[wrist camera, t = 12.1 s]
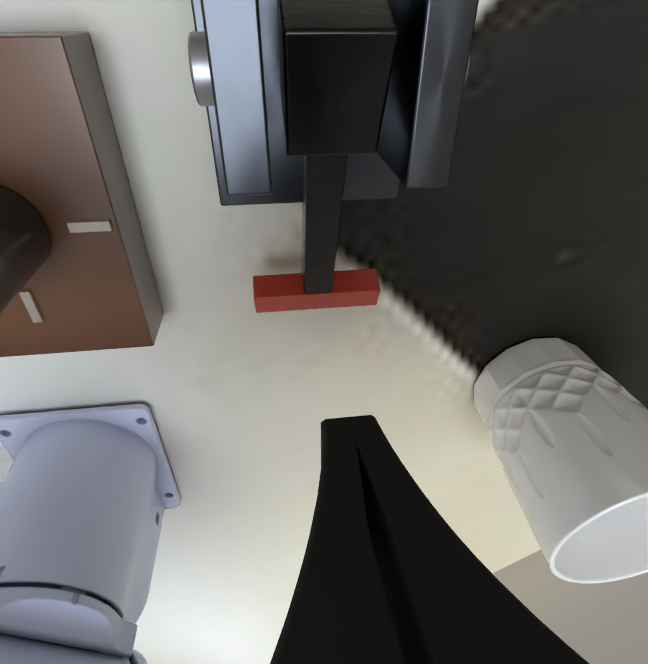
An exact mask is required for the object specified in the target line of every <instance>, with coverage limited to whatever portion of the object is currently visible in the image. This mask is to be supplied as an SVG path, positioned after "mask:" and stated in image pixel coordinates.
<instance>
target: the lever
mask: <svg viewBox="0 0 648 664" xmlns="http://www.w3.org/2000/svg"><path fill="white" fill-rule="evenodd" d="M277 16H278V41H279V67H280V92H281V104H282V114H283V124H284V134H285V144H286V153H287V155H288V156H303V242H302V273H297V274H280V275H263V276H254V277H253V288H254V302H255V308H256V312H257V313H260V312H275V311H290V310H305V309H319V308H334V307H349V306H364V305H376V304H377V300H378V297H379V293H380V286H379V281H378V276H377V271H376V269H364V270H347V271H334V268H335V259H336V251H337V243H338V234H339V226H340V217H341V209H342V200H343V192H344V184H345V175H346V167H347V158H348V154H374V153H376V151H377V148H378V142H379V137H380V132H381V126H382V121H383V116H384V110H385V105H386V100H387V94H388V89H389V84H390V78H391V73H392V68H393V62H394V57H395V52H396V46H397V41H398V36H399V30H398V27H397V24H396V21H395V18H394V15H393V12H392V9H391V6H390V3H389V0H277Z"/></svg>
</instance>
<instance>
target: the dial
mask: <svg viewBox="0 0 648 664" xmlns="http://www.w3.org/2000/svg"><path fill="white" fill-rule="evenodd" d="M49 251H50V237H49V233H48V230H47V227H46V225H45V223H44V221H43V220H42V218H41V217H40V215H39V214H38V213H37V212H36V210H35V209H34V208H33V207H32V206H31V205H30V204H29V203H27V202H26V201H25V200H24V199H22V198H21V197H20V196H18V195H17V194H15V193H13V192H11V191H10V190H7V189H5V188H3V187H0V314H1V313H2V312H3V310H4V309H5V308H6V307H7V306H8V305H9V303H10V302H11V301H12V300H13V299H14V297H15V296H16V295H17V294H18V293H19V292H20V290H21V289H22V288H23V287H24V286H25V284H26V283H27V282H28V281H29V280H30V279H31V277H32V276H33V275H34V274H35V273H36V271H37V270H38V269H39V268H40V267H41V266H42V264H43V263H44V262H45V261H46V259H47V257H48V255H49Z"/></svg>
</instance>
